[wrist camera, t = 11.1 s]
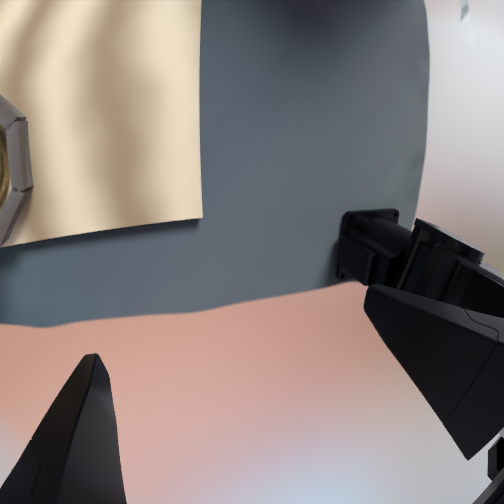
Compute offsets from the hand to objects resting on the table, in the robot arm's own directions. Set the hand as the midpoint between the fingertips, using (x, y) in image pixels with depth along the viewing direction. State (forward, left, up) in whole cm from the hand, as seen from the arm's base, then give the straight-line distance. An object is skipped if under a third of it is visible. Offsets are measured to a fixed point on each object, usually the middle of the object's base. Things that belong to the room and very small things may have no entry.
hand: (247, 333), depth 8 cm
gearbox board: (+11, -13, -13) cm, 21 cm away
